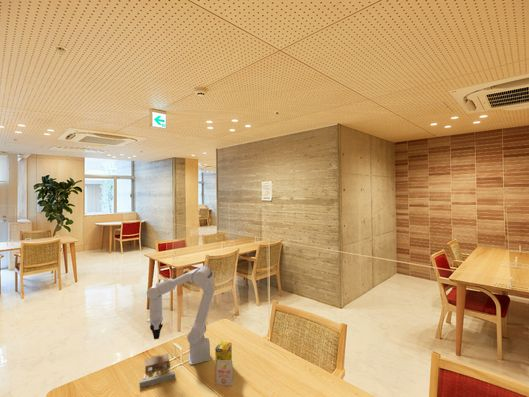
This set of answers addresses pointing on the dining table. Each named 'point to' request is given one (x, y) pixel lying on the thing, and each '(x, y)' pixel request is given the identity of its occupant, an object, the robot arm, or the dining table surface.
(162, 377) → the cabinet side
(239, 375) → the dining table surface
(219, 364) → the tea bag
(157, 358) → the brown flat block
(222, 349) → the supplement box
